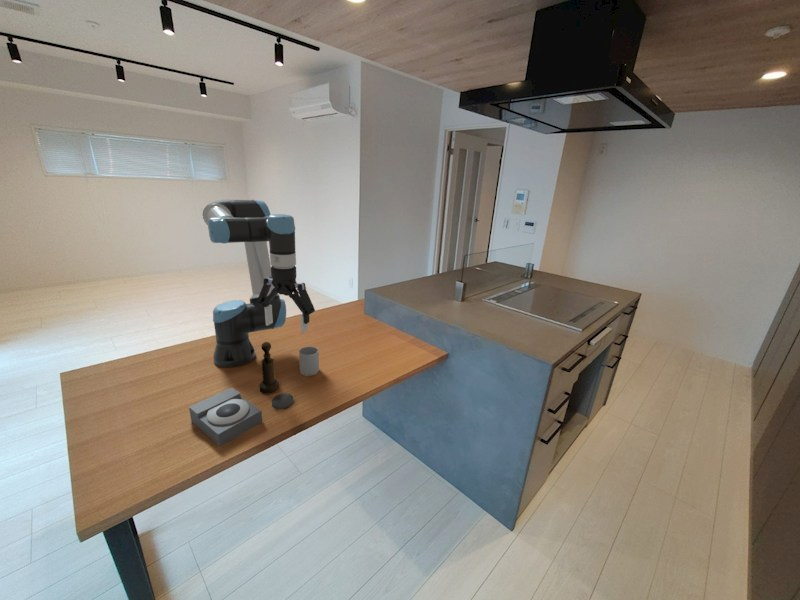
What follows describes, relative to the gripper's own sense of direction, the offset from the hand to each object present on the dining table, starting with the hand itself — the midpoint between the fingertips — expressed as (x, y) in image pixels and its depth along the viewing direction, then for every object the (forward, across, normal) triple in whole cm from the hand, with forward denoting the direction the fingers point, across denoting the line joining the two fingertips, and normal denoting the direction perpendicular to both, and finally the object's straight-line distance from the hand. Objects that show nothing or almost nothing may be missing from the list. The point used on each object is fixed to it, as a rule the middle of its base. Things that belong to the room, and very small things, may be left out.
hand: (286, 327), depth 111 cm
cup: (+24, 0, +13) cm, 27 cm away
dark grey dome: (+23, +3, -8) cm, 25 cm away
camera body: (+23, -6, -22) cm, 33 cm away
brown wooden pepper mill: (+24, -6, -4) cm, 24 cm away
